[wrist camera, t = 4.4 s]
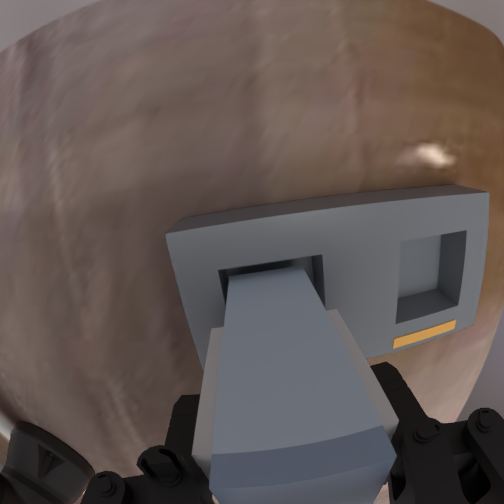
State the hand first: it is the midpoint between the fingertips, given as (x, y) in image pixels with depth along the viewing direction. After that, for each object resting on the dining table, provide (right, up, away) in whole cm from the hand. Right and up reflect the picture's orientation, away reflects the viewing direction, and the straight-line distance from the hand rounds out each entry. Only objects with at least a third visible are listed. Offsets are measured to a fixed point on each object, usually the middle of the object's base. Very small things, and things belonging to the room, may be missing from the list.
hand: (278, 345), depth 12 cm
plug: (0, +1, +4) cm, 4 cm away
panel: (+5, +3, +7) cm, 9 cm away
